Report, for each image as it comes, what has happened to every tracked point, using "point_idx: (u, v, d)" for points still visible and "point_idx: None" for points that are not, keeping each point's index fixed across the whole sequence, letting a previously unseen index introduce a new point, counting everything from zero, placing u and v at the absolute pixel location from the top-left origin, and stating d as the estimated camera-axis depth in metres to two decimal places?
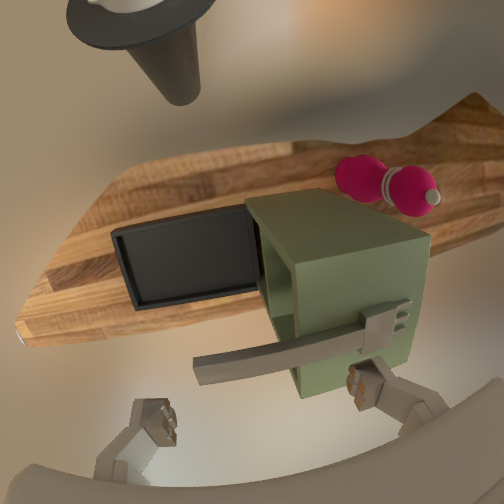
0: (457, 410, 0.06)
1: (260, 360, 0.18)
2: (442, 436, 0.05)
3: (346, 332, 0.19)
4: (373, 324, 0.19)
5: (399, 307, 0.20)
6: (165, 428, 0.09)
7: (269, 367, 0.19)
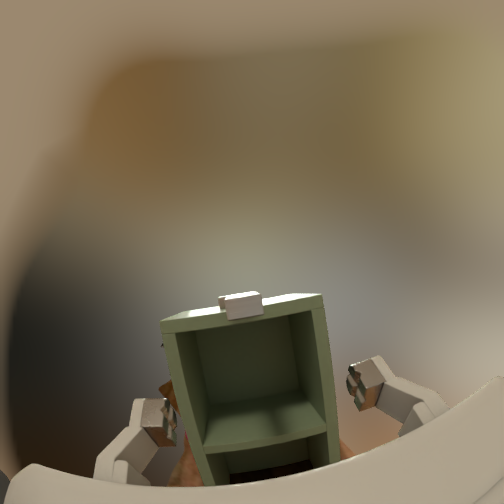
0: (457, 410, 0.06)
1: (231, 296, 0.19)
2: (442, 436, 0.05)
3: None
4: None
5: None
6: (165, 428, 0.09)
7: (244, 294, 0.20)
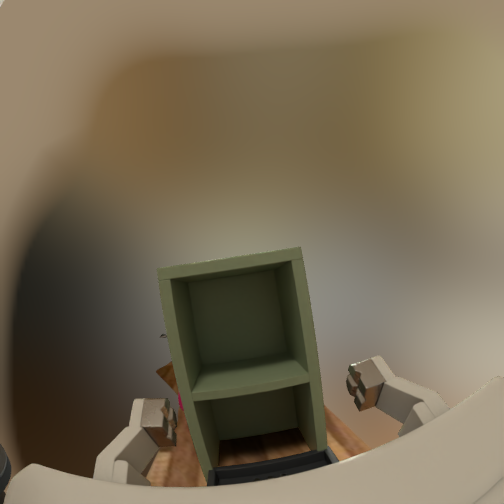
0: (457, 410, 0.06)
1: None
2: (442, 436, 0.05)
3: None
4: None
5: None
6: (165, 428, 0.09)
7: None
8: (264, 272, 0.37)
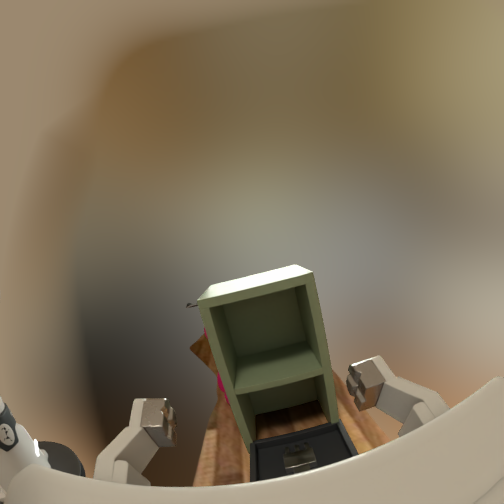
0: (457, 410, 0.06)
1: None
2: (442, 436, 0.05)
3: None
4: (290, 463, 0.27)
5: (287, 452, 0.30)
6: (165, 428, 0.09)
7: None
8: None
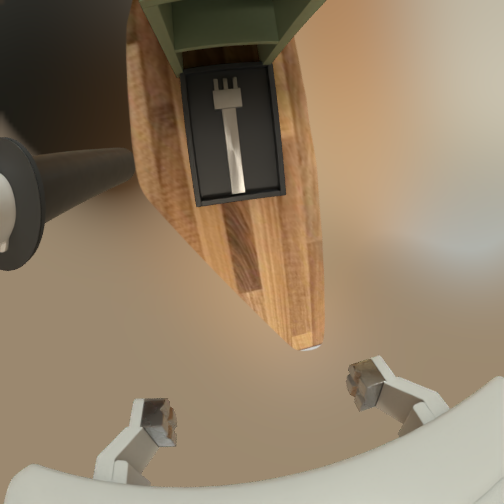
0: (457, 410, 0.06)
1: (230, 162, 0.39)
2: (442, 436, 0.05)
3: (223, 118, 0.36)
4: (220, 104, 0.35)
5: (215, 86, 0.35)
6: (165, 428, 0.09)
7: (236, 157, 0.38)
8: None
